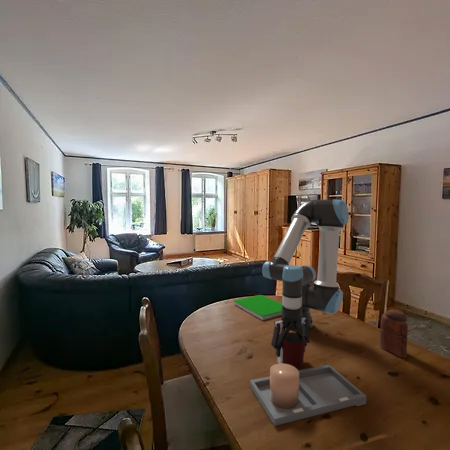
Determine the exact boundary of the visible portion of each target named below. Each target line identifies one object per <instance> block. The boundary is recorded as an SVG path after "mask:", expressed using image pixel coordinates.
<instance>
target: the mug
mask: <svg viewBox="0 0 450 450" xmlns="http://www.w3.org/2000/svg"><path fill="white" fill-rule="evenodd" d="M281 348H282V349H283V364H289V365H291V366H293V367H295V368H296V369H297V370H301V368H302V367H303V366H304V356H305V352H304V349H305V350H306V346H305V337H304V336H302V341H301V339H300V338H299V337H298V335H297V333H296V332H293V331H292V332H291V331H289V333H288V334H287V336H286V338H285V340H284V339H283V345H282V347H281Z"/></svg>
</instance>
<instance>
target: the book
mask: <svg viewBox="0 0 450 450" xmlns="http://www.w3.org/2000/svg"><path fill="white" fill-rule="evenodd" d="M234 304H235V306H236V305H237V306H236V307H237V308H240V309H241V308H242V309H241V310H243V311H245V312H247V313H249V314H250V315H252V316H254V317H256V318H257V319H259V320H261V321H265V320H269V319H272V318H276V317H278V316H279V317H280V316H282V306H283V305H282V302H279V301H276V300H274V299H272V298H270V297H267V296H265V295H263V294H257V295H253V296H249V297H243V298H239V299H234V300H233V305H234Z"/></svg>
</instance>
